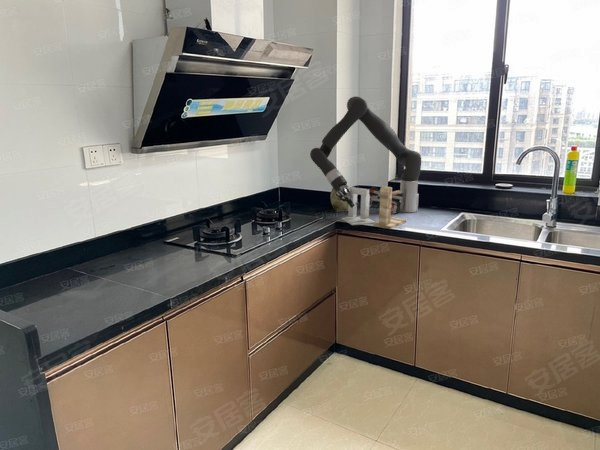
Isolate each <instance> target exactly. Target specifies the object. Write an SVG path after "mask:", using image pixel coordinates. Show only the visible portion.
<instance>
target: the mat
mask: <svg viewBox="0 0 600 450" xmlns="http://www.w3.org/2000/svg"><path fill="white" fill-rule="evenodd" d="M341 220H342V221H344V222H346V223H348V224H349V225H351V226H361V225H369V224H374V223H376V221H375V220H373V219H371V218H370V217H369V218H368V219H365V220H364V219H360V216H355V217H341Z"/></svg>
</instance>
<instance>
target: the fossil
mask: <svg viewBox="0 0 600 450" xmlns="http://www.w3.org/2000/svg"><path fill="white" fill-rule="evenodd" d="M347 186H348V187H349V188H351V187H350V186H349V185H347ZM337 192H338V191H335V190H334V188H333V187H332V188H331V191H330V203H331V205H332V208H333V210H334V212H347V211H348V205H349V204H348V203H347V202H346V201H345V202H343V201H342V200H341V199H340V198H339V197H338V196H337V195H336V193H337ZM342 198H343V197H342Z"/></svg>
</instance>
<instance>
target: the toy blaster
mask: <svg viewBox="0 0 600 450" xmlns="http://www.w3.org/2000/svg"><path fill="white" fill-rule="evenodd" d="M368 189H369V195H370V202H369V210H370V209H371V208H373V209H376V210H378V209H380V190H381V189H379V188H377V187H375V186H372V187H370V188H368ZM402 197H403V193H401V194H400V193H399V194H396V195H393V196H392V201H391V215H394V214H395V213H396V214H397V213H398V212H401V211H400V210H401V208H400V206H401V202H400V200H402V199H403V198H402ZM397 200H399V201H397ZM375 202H376V203H377V202H378V203H379V205H377V206H373V205H374V203H375ZM359 211H361V208H360V210H359Z"/></svg>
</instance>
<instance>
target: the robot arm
mask: <svg viewBox="0 0 600 450" xmlns="http://www.w3.org/2000/svg"><path fill="white" fill-rule="evenodd" d="M346 107H347V112H346V113H345V114H344V116H343V117H342V118H341V120H339V122H337V123H336V124H335V125H334V126H333V127H332V128H331V129H329V130H328V132H327V133H326V135H325V136H324V137H323V138H322V140H321V143H322V144H321V145H320V147H314V148H312V149H311V150H310V152H309V156H310V159H311V160H312V162H313V163H314V164H315V166H317V168H319V169H320V171H321V172H322V174H323V175H324V176H325V177H326V179H327V181H328V183H329V185H331V187H332V188H334V190H335V191H338V192H337V193H336V195H337V196H338V197H339V198H340V199H341V200H342V201H343V202H345V201H346V202H347V203H348V204H349V205H350V207H351V208H352V207H354V206H355V205H354V203H353V202H352V201H351V200H350V198H349V193H350V188H351V187H350V186H349V185H348V181H347V180H346V179H345V177H344V176H343V175H342V173H341V171H340V170H339V169H338V168H337V167H336V166H335V164H334V163H333V162H332V161H331V160H330V159H328V158H329V156H330V155H331V153H332V150H333V148H335V146H336V145H337V144H338V143H339V141H340V140H341V138H343V136H344V135H345V134H346V133H347V132H348V130H350V128H352V126H354V124H355V123H356V122H357V121H358V120H359V121H360V122H361V123H362V124H363V125H364V126H365V128H366V129H367V130H368V131H369V132H370V133H371V134H372V136H373V137H374V138H375V139H376V140H378V142H379V143H381V144H382V146H384V147H385V148H386V149H387V150H388V151H390V153H392V155H393V156H394V157H395V158H396V159H397V161H398V162H399V163H400V164H401V165H402V166H403V167H404V172H403V173H401V176H400V186H399V187H400V189H399V190H400V194H401V193H403V197H402V198H403V199H402V200H400V199H399V202H401V206H400V208H401V210H400V212H401V213H415V212H418V210H419V209H418V208H419V195H420V194H419V193H418V187H419V177H420V175H421V169H422V156H421V153H419V151H415V150H411V149H409V148H407V146H405V145H404V144H403V143H402V141H401V140H400V138H399V137H398V135H397V132H396V131H395V130H394V129H393V128H392V127H391V126H390V125H389V124H388V123H387V122H386V121H385V120H384V119H382V118H381V117H380V116H378V115H377V114H375V112H373V110H371V108H369V106H368V102H367V101H366V100H365V99H364V98H362V97H361V96H352V97H350V98H349V99H348V100H347V103H346ZM348 186H349V187H350V188H349V187H348ZM342 197H343V198H342ZM359 205H360V203H359V202H358V200H357V207H358V206H359Z"/></svg>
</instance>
